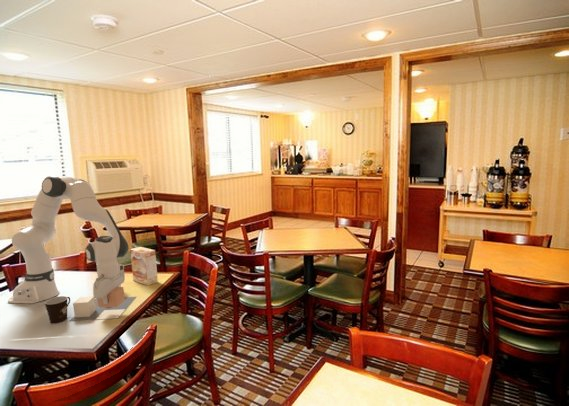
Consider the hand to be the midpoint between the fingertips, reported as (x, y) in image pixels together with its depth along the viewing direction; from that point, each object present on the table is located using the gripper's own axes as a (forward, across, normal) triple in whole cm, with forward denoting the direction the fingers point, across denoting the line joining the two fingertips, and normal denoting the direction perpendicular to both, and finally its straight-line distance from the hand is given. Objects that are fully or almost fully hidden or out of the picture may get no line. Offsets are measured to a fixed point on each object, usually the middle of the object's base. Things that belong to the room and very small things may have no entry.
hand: (111, 299), depth 161 cm
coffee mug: (+8, -5, +21) cm, 23 cm away
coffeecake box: (+8, +42, +4) cm, 43 cm away
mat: (+8, +6, +7) cm, 12 cm away
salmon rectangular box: (+2, 0, 0) cm, 2 cm away
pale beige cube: (+7, 0, +13) cm, 15 cm away
